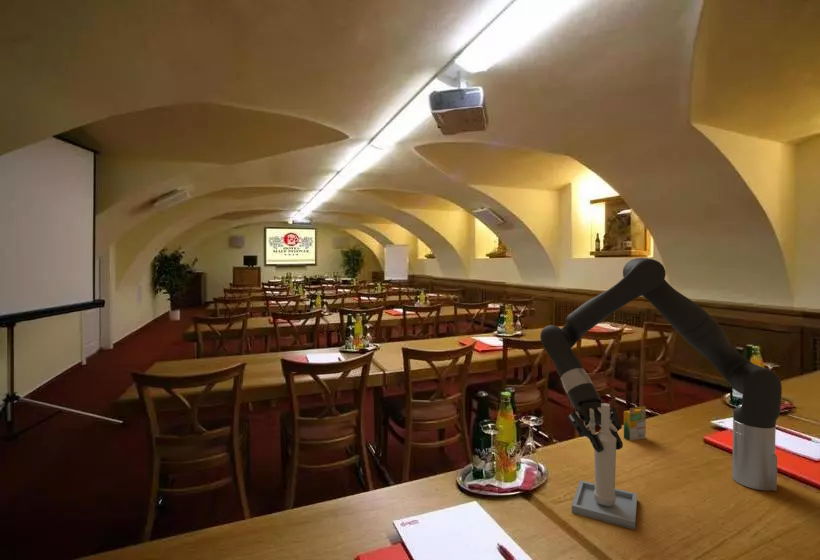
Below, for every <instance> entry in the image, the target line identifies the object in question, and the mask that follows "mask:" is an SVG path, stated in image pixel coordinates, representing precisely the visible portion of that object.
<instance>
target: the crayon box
mask: <svg viewBox="0 0 820 560" xmlns="http://www.w3.org/2000/svg"><path fill="white" fill-rule="evenodd" d="M646 407H647V406H646V405H643V406H637V407H630V408H629V410H624V411H623V438H624V439H625V440H626V441H630V442H632V441H636V440H642V439H646V437H647V435H646V434H647V433H646V428H647V426H646V422H647V421H646V420H647V419H646V409H647V408H646Z"/></svg>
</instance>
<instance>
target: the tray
mask: <svg viewBox="0 0 820 560" xmlns="http://www.w3.org/2000/svg"><path fill="white" fill-rule="evenodd" d="M594 490H595V482H594V483H593V482H589V481H585V480H581V479H579V482H578V485H577V488H576V492H575V495H574V497H573V500H572V504H571V513H573V514H575V515H580V516H584V517H585V518H586V517H587V518H591V519H594V520H598V521H601V522H606V523H609V524H613V525H616V526H620V527H623V528H626V529H630V530H633V531H635V530H636V522H637V521H636V520H637V508H638V507H637V506H638V493H636V492H631V491H628V490H623V489H619V488H615V495H616V501H615V504H614V505H612V506H605V505H601V504H599V503H598V502H596V500H595V498H594Z"/></svg>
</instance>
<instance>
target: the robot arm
mask: <svg viewBox="0 0 820 560" xmlns="http://www.w3.org/2000/svg"><path fill="white" fill-rule="evenodd" d="M622 269H623V270H622V277H623V278H621V280H619V281H618V282H617V283H615V285H613V286H611V287H610V288H609V289H607V290H605V291H604V292H601V293H599V294H598V295H596V296H594V297H592V298H591V299H589V300H587V301H585V302H584V303H582V304H581V305H580V306H579V307H577V308H576V309H575V310H573V311H572V312H570V313H569V314H568V315H567V316H566V318H565V322H566V323H565V324H564V325H562V327H561V328H560V327H559V326H557V325H554V324H553V325H550V324H548V325H546V326H545V327H543V328H542V330H541V332H540V337H539V338H540V342H541V344H542V346H543V349H544V351H545V352H546V353H547V355H548V356H549V358H550V359H551V361H552V363H553V365H554V367H555V370H556V372H557V374H558V376H559V378H560V381H561V384H562V387H563V389H564V391H565V393H566V395H567V397H568V399H569V401H570V403H571V406H572V407H573V409H574V410H575V411H572V412H571V413H570V414H569V415H568V417H567V419H568V420H569V422H570V423H571V424H572V426H573V427H574V430H575V431H577V434H578V435H579V436H580V437H582V438H583V437H586V438H588V439H589V442H590V443H591V446H592V447H593V450H594V449H595V450H596V451H597V452H602V451H603V450H604V448H603V446H602V444H601V442H600V440H599V438H598V436H597V435H595V434H597V433H596V426H599V428H601V404H602V401H601V400H602V399H601V397H600V395H599V392H598V391H597V388H596V387H595V385H594V383H593V382H592V379H591V377H590V375H588V373H587V371H586V370H585V369H584V366H583V364H582V362H581V361H580V359H579V357H578V355H576V354H575V353H574V350H573V349H572V348H573V347H574V346H575V345H576V344H577V343H578V341H579V340H581V338H582V337H583V335H584V334H586V333H587V332H589V331H590V330H592V329H593V328H594V327H595V326H597V325H598V324H600V323H601V322H602V321H604V320H605V319H607V318H608V317H609V316H611V315H612V314H613V313H615V312H616V311H618V310H619V309H621V308H622V307H625V305H627V304H629V303H630V302H632V301H634V300H635V299H637V298H639V297H641V296H642V297H643V298H644V299H646V300H647V301H648V302H649V303H650V304H651V305H652V306H654V308H655V309H656V310H657V311H658V313H660V315H661V316H662V317H663V318H664V319H665V320H666V321H667V322H668V324H669V325H670V326H671V327H672V328H673V329H674V330H675V331H676V332H677V333H678V334H679V335H680V336H681V337H682V338H683V339H684V340H685V341H686V342H687V343H688V344H690V345H691V346H692V347H693V348H694V349H695V350H696V351H697V352H698V353H700V354H701V355H702V357H704V358H705V359H707V361H709V362H710V363H711V364H712V365H713V366H714V367H715V368H716V370H717V371H718V372H719V373H720V375H721V376H722V377H723V378H724V380H726V381H727V383H728V384H729V385H730V387H731V388H733V390H735V391H736V392H737V393H739V394H740V395H742V400H741V406H738V407H735V408H734V409H733V412H732V413H733V414H732V466H731V467H732V468H731V472H732V475H731V476H732V479H733V481H734V482H737V484H740V485H741V486H744V487H747V488H750V489H753V490H758V491H775V492H777V491H778V490H777V489H778V456H777V454H776V430H777V429H776V426H777V425H776V423H777V420H778V419H779V417H780V414H781V405H782V404H781V403H782V393H783V389H782V382H781V379H780V378H779V377H780V376H778V374H777V373H776V372H775V371H773V370H771V369H768V368H766V367H763V366H760V365H757V364H756V363H753V362H752V361H750V360H749V359H747V358H746V357H745V356H743V354H741V353H740V352H739V351H738V350H737V349H735V347H734V346H733V345H732V344H731V342H730V341H729V338H728V337H727V335H726V333H725V331H724V329H723V327H722V326H721V325H720V324H719V322H717V321H716V320H715V319H714V318H713V317H712V316H711V315H710V314H709V313H708V312H707V311H706V310H704V308H702V307H701V306H700V305H698V304H697V303H696V302H694V301H693V300H691V299H690V298H688V297H687V296H685V295H683V294H682V293H681V292H679V291H678V290H677V289H675V288H674V287H672V285H670V283H669V282H668V281H667V280H666V279H665V278H666V268H665V267H664V265H663V264H662V263H661V262H659V260H657V259H653V258H648V257H647V258H646V257H645V258H644V257H638V258H637V257H636V258H633V259H630V260H628V262H626V263H625V265H624V266H623V268H622ZM621 429H623V426H622V423H621V419H620V416H619V414H618V410H617V408H616V407H614V406H613V407H610V431H611V434H612V435H613V436H614V437H615V438H616V451H618V450H621V449H622V448H623V447H624V446H623V445H624V444H623V441H622V438H621V436H620V435H619V431H620V430H621Z"/></svg>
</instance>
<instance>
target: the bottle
mask: <svg viewBox="0 0 820 560" xmlns="http://www.w3.org/2000/svg"><path fill="white" fill-rule="evenodd" d="M601 403H602V402H601ZM610 409H611V404H609V403H605V402H603V403H602V404H601V427H600V429H599V431H597V433H596V434H595V435H597V436H598V438H599V440H600V442H601V444H602V446H603V448H604V450H603V451H602V452H597V451H596V450H595V449H594V448H593V450H594V452H593V454H594V455H593V456H594V484H595V490H594V498H595V500H596V502H598V503H599V504H601V505H605V506H612V505H614V504H615V501H616V495H615V489H616V466H617V464H616V461H617V459H616V458H617V450H616V438H615V437H614V436H613V435H612V434H611V431H610Z"/></svg>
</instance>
